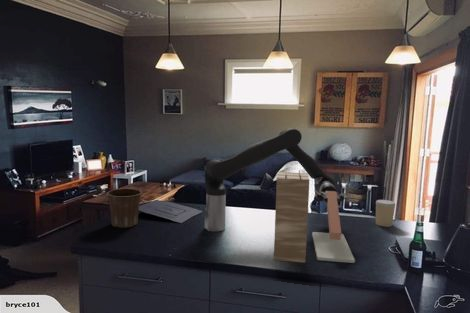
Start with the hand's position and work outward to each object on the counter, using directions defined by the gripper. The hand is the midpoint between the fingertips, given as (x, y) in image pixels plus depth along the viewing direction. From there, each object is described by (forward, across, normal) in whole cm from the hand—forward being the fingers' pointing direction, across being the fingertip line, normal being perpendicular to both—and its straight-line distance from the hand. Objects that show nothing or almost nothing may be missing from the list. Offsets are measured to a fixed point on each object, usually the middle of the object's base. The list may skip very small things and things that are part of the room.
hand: (332, 200), depth 159 cm
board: (+7, 0, +19) cm, 20 cm away
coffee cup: (-32, +31, +20) cm, 48 cm away
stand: (+18, -18, +18) cm, 31 cm away
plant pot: (-4, -98, +18) cm, 99 cm away
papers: (-26, -83, +19) cm, 89 cm away
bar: (+4, 0, +6) cm, 7 cm away
